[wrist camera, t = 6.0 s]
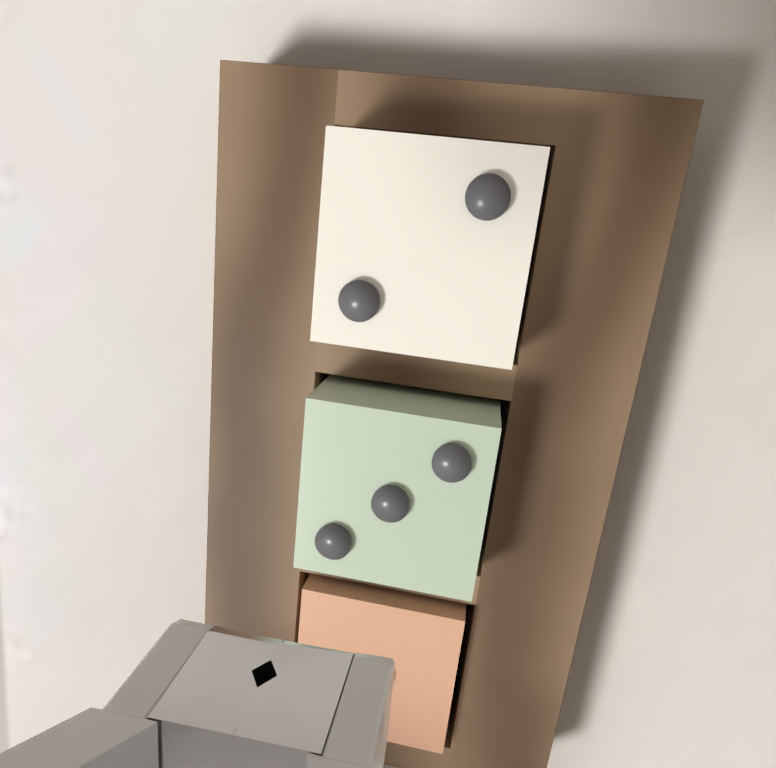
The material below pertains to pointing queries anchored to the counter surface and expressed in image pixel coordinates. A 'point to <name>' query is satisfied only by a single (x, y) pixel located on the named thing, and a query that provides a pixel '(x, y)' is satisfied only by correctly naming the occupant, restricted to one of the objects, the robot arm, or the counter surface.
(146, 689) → the robot arm
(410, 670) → the tile one terracotta
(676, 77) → the counter surface
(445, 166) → the tile two cream
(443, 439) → the tile three sage
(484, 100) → the tile board
